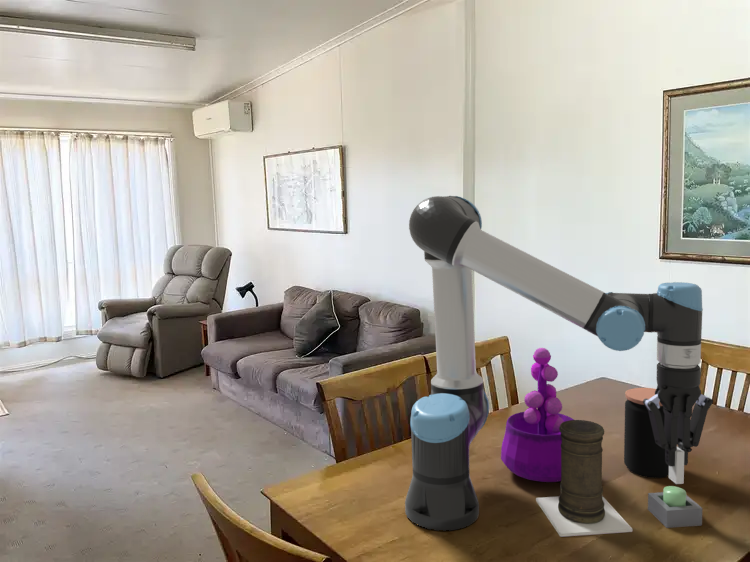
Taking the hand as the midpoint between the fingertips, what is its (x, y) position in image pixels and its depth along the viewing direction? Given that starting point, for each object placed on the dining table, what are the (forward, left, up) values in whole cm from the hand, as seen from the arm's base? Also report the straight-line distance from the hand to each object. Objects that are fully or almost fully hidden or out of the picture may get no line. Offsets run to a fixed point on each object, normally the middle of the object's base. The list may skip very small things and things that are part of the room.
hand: (676, 480), depth 117 cm
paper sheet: (-18, +3, -8) cm, 19 cm away
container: (-18, +3, -7) cm, 19 cm away
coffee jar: (+6, +21, -8) cm, 23 cm away
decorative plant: (-19, +22, -8) cm, 30 cm away
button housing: (0, 0, -8) cm, 8 cm away
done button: (0, 0, -8) cm, 8 cm away
